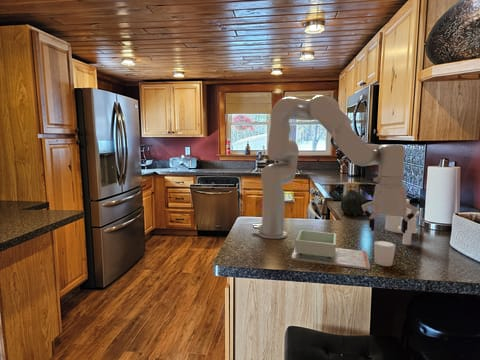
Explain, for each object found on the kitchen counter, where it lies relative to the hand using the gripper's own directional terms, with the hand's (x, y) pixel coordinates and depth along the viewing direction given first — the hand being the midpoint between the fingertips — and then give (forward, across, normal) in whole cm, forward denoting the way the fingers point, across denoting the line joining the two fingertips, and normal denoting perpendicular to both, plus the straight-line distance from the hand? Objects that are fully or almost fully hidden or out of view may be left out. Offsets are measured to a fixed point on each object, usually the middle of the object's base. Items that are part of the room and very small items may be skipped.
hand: (387, 230), depth 107 cm
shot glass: (+12, -1, 0) cm, 12 cm away
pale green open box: (+10, -24, 0) cm, 26 cm away
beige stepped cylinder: (+12, +11, +26) cm, 31 cm away
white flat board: (+11, -19, 0) cm, 22 cm away
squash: (+11, -8, +74) cm, 75 cm away
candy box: (+11, -9, +99) cm, 100 cm away
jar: (+12, +11, +48) cm, 51 cm away
